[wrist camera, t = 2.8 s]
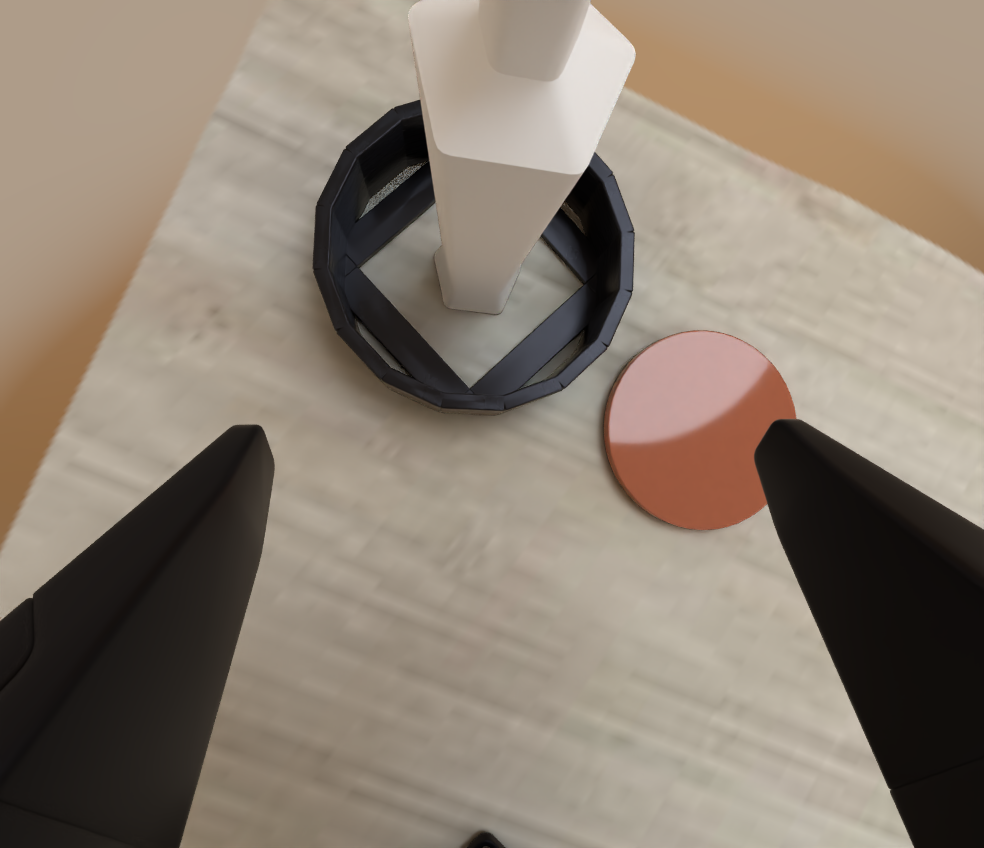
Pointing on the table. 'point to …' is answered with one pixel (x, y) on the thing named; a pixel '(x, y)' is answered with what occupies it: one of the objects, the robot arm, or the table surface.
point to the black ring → (355, 240)
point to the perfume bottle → (508, 126)
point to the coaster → (694, 428)
